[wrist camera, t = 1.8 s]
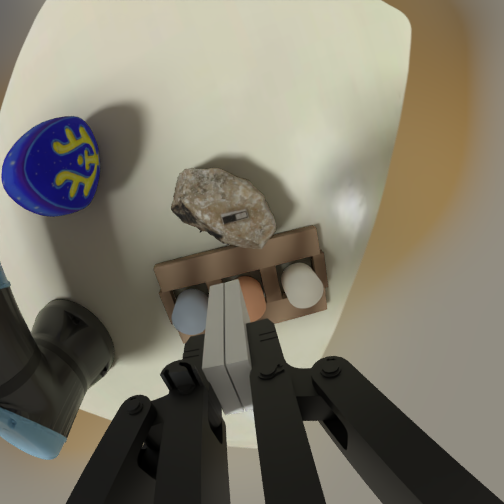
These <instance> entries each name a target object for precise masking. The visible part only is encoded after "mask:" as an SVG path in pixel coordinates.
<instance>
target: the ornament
mask: <svg viewBox="0 0 504 504" xmlns="http://www.w3.org/2000/svg"><path fill="white" fill-rule="evenodd" d="M99 175H100V157H99V149H98V145H97V142H96V140H95V137H94V135H93V132H92V131H91V129H90V127H89V126H88V125H87V124H86V122H84V121H83V120H82V119H81V118H79V117H74V116H65V117H59V118H54V119H51V120H48V121H45V122H42V123H40V124H38V125H36V126H35V127H33V128H32V129H30V130H29V131H28V132H26V133H25V134H24V135H23V136H22V137H21V138H20V139H19V140H18V141H17V142H16V143H15V144H14V145H13V147H12V148H11V149H10V151H9V152H8V154H7V156H6V158H5V160H4V163H3V166H2V184H3V187H4V189H5V191H6V192H7V194H8V195H9V196H10V197H11V198H12V199H13V200H14V201H15V202H16V203H17V204H19V205H20V206H22V207H23V208H25V209H26V210H29V211H31V212H33V213H36V214H39V215H43V216H52V217H54V216H62V215H67V214H71V213H74V212H77V211H79V210H81V209H84V208H85V207H87V206H88V205H89V204H90V202H91V201H92V199H93V197H94V195H95V192H96V189H97V185H98V181H99Z"/></svg>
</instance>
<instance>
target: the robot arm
mask: <svg viewBox="0 0 504 504" xmlns="http://www.w3.org/2000/svg"><path fill="white" fill-rule="evenodd" d="M10 286H11V284H10V282H9V281H8V280H7V278H6V276H5V273H4V271H3V268H2V266H1V263H0V436H1V437H2V438H4V439H5V440H6V441H8V442H9V443H11V444H12V445H14V446H16V447H17V448H19V449H20V450H22V451H24V452H26V453H28V454H30V455H33V456H35V457H38V458H41V459H47V460H50V459H54V458H56V457H57V456H58V455H59V452H60V450H61V448H62V446H63V444H64V442H66V440H67V437H68V434H69V432H70V429H71V427H72V424H73V422H74V419H75V417H76V414H77V412H78V410H79V407H80V405H81V403H82V400H83V398H84V396H85V394H86V392H87V390H88V389H89V388H90V387H92V386H93V385H94V384H95V383H96V382H98V381H99V380H100V379H101V378H102V377H104V376H105V375H106V374H107V372H108V371H109V369H110V367H111V364H112V362H113V359H114V346H113V343H112V340H111V337H110V335H109V333H108V332H107V330H106V329H105V327H104V326H103V324H102V323H101V322H100V321H99V320H98V319H97V318H96V317H95V316H94V315H93V314H92V313H91V312H90V311H88V310H87V309H85V308H84V307H82V306H80V305H79V304H76V303H74V302H71V301H68V300H54V301H51V302H49V303H48V304H47V305H46V306H45V307H44V308H43V309H42V310H41V311H40V312H39V313H38V315H37V317H36V320H35V323H34V325H33V328H32V331H31V332H30V330H29V328H28V326H27V324H26V323H25V320H24V318H23V316H22V314H21V312H20V310H19V308H18V305H17V303H16V301H15V298H14V296H13V293H12V291H11V288H10ZM160 376H161V377H162V379H163V381H164V382H165V384H166V386H167V387H168V389H169V394H168V395H166V396H164V397H161V398H159V399H156V400H153V401H150V399H149V398H148V397H147V396H144V395H135V396H132V397H130V398H128V399H127V400H125V401H124V403H123V404H122V405H121V407H120V408H119V410H118V412H117V413H116V415H115V417H114V418H113V420H112V422H111V424H110V425H109V427H108V429H107V430H106V432H105V434H104V436H103V437H102V439H101V441H100V442H99V444H98V446H97V448H96V449H95V452H94V453H93V455H92V457H91V458H90V460H89V462H88V464H87V465H86V467H85V469H84V471H83V473H82V474H81V476H80V478H79V480H78V482H77V484H76V485H75V487H74V489H73V491H72V493H71V495H70V497H69V498H68V500H67V502H66V504H230V492H229V476H228V460H227V442H226V425H225V422H224V420H223V418H222V410H223V412H224V414H225V415H229V414H235V413H240V412H244V409H245V411H251V410H253V412H254V420H255V428H256V436H257V444H258V452H259V458H260V466H261V474H262V482H263V489H264V496H265V504H326V502H325V498H324V495H323V491H322V488H321V484H320V481H319V477H318V474H317V470H316V466H315V463H314V459H313V456H312V452H311V449H310V445H309V442H308V438H307V434H306V431H305V427H304V424H303V421H317V420H318V421H319V423H320V424H321V425H322V427H323V428H324V429H325V431H326V432H327V434H328V435H329V436H330V437H331V439H332V440H333V442H334V443H335V444H336V445H337V447H338V448H339V449H340V451H341V452H342V453H343V455H344V456H345V457H346V458H347V460H348V461H349V462H350V464H351V465H352V466H353V468H354V469H355V470H356V471H357V473H358V474H359V475H360V476H361V477H362V479H363V480H364V481H365V483H366V484H367V485H368V486H369V488H370V489H371V490H372V491H373V492H374V494H375V495H376V496H377V497H378V499H380V501H381V502H382V503H383V504H504V502H502V501H501V500H500V499H499V498H498V497H497V496H495V495H494V494H493V493H492V492H491V491H490V490H489V489H488V488H486V487H485V486H484V485H483V484H482V483H481V482H480V481H478V480H477V479H476V478H475V477H474V476H473V475H472V474H471V473H469V472H468V471H467V470H466V469H465V468H464V467H463V466H461V465H460V464H459V463H458V462H457V461H456V460H455V459H454V458H452V457H451V456H450V455H449V454H448V453H447V452H446V451H445V450H444V449H443V448H441V447H440V446H439V445H438V444H437V443H436V442H435V441H434V440H433V439H431V438H430V437H429V436H428V435H427V434H426V433H425V432H424V431H423V430H422V429H420V428H419V427H418V426H417V425H416V424H415V423H414V422H413V421H412V420H411V419H410V418H408V417H407V416H406V415H405V414H404V413H403V412H402V411H401V410H400V409H399V408H397V406H395V405H394V404H393V403H392V402H391V401H390V400H389V399H388V398H387V397H386V396H385V395H384V394H382V393H381V392H380V391H379V390H378V389H377V388H376V387H375V386H374V385H373V384H372V383H371V382H370V381H369V380H367V379H366V378H365V377H364V376H363V375H362V374H361V373H360V372H359V371H358V370H357V369H356V368H355V367H354V366H353V365H352V364H350V363H349V362H348V361H347V360H345V359H343V358H342V357H337V356H329V357H325V358H322V359H320V360H319V361H317V362H316V363H315V364H314V365H313V367H312V368H307V369H302V368H295V367H292V366H290V365H289V364H287V363H286V361H285V359H284V356H283V353H282V350H281V346H280V343H279V339H278V336H277V333H276V329H275V326H274V323H273V322H272V321H270V320H269V319H268V318H266V319H262V320H258V321H254V322H250V318H249V315H248V311H247V308H246V304H245V301H244V297H243V294H242V290H241V287H240V283H239V280H238V279H237V280H233V281H229V282H225V286H224V283H221V284H217V285H212V286H210V289H209V299H208V308H207V318H206V328H205V334H200V335H195V336H190V338H189V339H188V341H187V342H186V343H185V347H184V353H183V359H182V360H178V361H174V362H172V363H170V364H168V365H167V366H166V367H165V368H164V369H163V370H162V372H161V374H160ZM143 443H144V445H143ZM142 445H143V446H142Z"/></svg>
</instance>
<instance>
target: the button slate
mask: <svg viewBox="0 0 504 504" xmlns="http://www.w3.org/2000/svg"><path fill="white" fill-rule="evenodd" d="M207 308H208V297H207V296H206V295H205V294H204V293H203V292H202V291H200V290H197V289H187V290H184V291H182V292H181V293H180V294H179V295H178V297H177V300H176V303H175V307H174V310H173V313H172V323H173V325H174V326H175V328H176V329H177V330H178V331H180V332H182V333H184V334H188V335H196V334H199V333H201V332H203V331H204V330H205V328H206V318H207Z"/></svg>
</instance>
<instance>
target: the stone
mask: <svg viewBox="0 0 504 504" xmlns="http://www.w3.org/2000/svg"><path fill="white" fill-rule="evenodd" d="M173 197H174V198H173V199H174V200H173V202H172V206H171V210H172V211H173V213H174V214H176V215H177V216H178V217H179V218H180V219H181V221H182V222H184V223H187V224H188V225H192V226H194V227H197V228H198V229H199V230H200V233H201V231H206V232H208V233H209V234H210V235H212V236H214V237H215V238H216V239H217V240H219V241H220V242H222V243H223V244H224V243H226V244H228V245H229V244H231V245H234V246H236V247H241V248H253V249H262V248H263V247H264V246H265V244H266V243H267V241H268V240H269V239H270V238H271V237H272V235H273V234H274V233H275V230H276V228H277V226H276V222H275V219H274V216H273V214H272V212H271V211H270V209H269V206H268V204H267V202H266V201H265V197H264V195H263V194H262V193H261V192H260V191H259V190H257V189H256V188H255V187H254V186H253V185H252V183H251V182H250V181H248V180H247V179H243V178H239V177H237V176H234V175H232V174H230V173H228V172H226V171H223V170H222V169H220V168H209V169H194V168H190V169H185V170H184V171H183V172H182V173H180V174H179V177H178V180H177V183H176V187H175V193H174V196H173Z"/></svg>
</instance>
